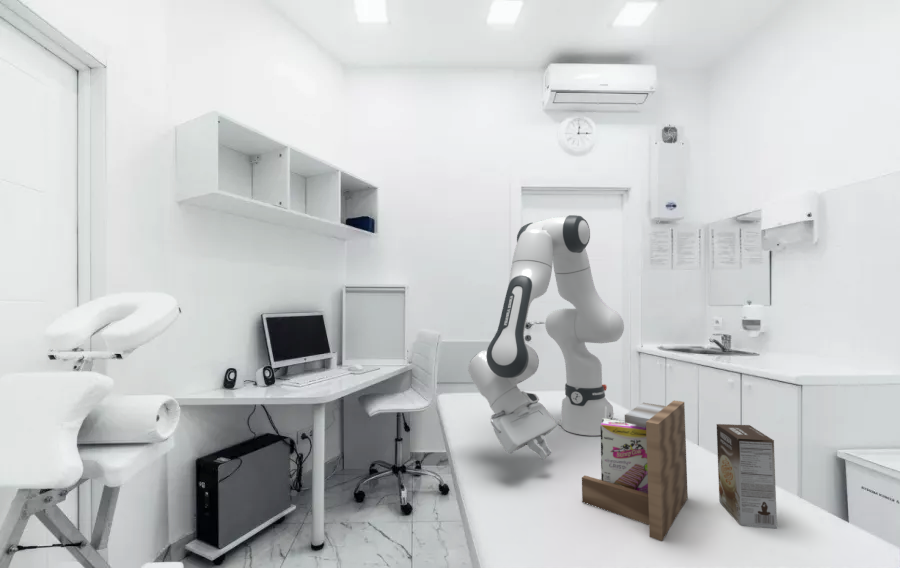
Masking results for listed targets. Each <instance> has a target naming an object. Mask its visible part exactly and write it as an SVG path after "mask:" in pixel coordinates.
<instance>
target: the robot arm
mask: <svg viewBox="0 0 900 568" xmlns="http://www.w3.org/2000/svg"><path fill="white" fill-rule="evenodd" d="M516 235H517V236H516V245H515V249H514V252H513V255H512V261H511V267H510V274H509V280H508V281H509V282H508V285H507V290H506V294H505V297H504V301H503V305H502V309H501V314H500V315H501V316H500V320H499V324H498V327H497V330H496V332H495V334H494V337H493V338H492V340H491V342H490V343H489V345H488V347H487V350H485V349H483V350H481V351H479V352H478V353H476V354H475V355H474V356H473V357H472V358H471V360H470V361H469V364H468V367H467V371H468V374H469V377H470V379H471V381H472V383H473V384H474V385H475V388H476V389H477V391H478V392H479V393H480V395H481V396H483V398H485V399H486V400H487V403H488V404H489V407H490V409H491V410H492V412H493V414H492V415H491V416H490V423H491V426H492V427H493V432H494V433H495V435H496V438H497V439H498V441H499V443H500V444H501V446H502V448H503V449H504V451H505V452H507V453H509V454H512V453H514V452H516V451H517V450H520V449H522V448H523V447H526V446H527V447H528V448H529V449H530V450H531V451H532V452H534V453H535V454H537V455H538V457H539V458H540V459H541V460H544V459H546V458H548V457H550V456H551V455H552V453H553V451H552V449H551V448H550V447H549V445H548V441H547V438H546V435H549V434H550V433H551V432H552V431H554V430H555V428H557V425H560V426H561V428H562V429H563V430H565V431H567V432H568V433H571V434H575V435H581V436H590V437H591V436H601V422H602V418H603V419H613V420H620V419H619V418H615V417H614V407H613V405H612V404H611V403H610V401H608V399H607V398H606V391H607V388H608V385H607V384H605V383H603V373H602V371H603V370H602V369H603V367H602V362H601V361H600V359H599V357H598V356H596V355H595V354H593V353H591V352H590V351H589V350H588V348H587V347H586V343H589V344H591V343H592V344H607V343H615V342H618V341H619V340H620V338H621V337H622V336H623V334H624V331H625V330H624V329H625V324H624V319H623V318H622V316H621V314H620V313H618V312H617V311H616V310H614V309H613V308H611V307H610V306H609V305H607V303H605V302H604V301H603V299H602V297H601V296H600V295H599V293H598V291H597V289H596V287H595V284H594V280H593V276H592V275H593V274H592V270H591V264H590V260H589V255H588V252H587V250H586V247H587V246H588V245H589V243H590V239H591V229H590V226H589V223H588V221H587V220H586V219H585V218H584V217H583V216H581V215H577V214H576V215H575V214H574V215H567V216H557V217H549V218H547V219H543V220H540V221H535V222H530V223H527V224H525V225H524V224H523V226H521V227H520V229H519V230H518V233H517V234H516ZM552 270H553V271H554V276H555V277H554V278H555V282H556V286H557V292H558V294H559V296H560V297H561V298H562V299H563V300H565V301H567V302H568V303H570V304H571V305H573V307H574V308H561V309H555V310H552V311H550V312H549V313H548V315H547V316H546V318H545V322H544V323H545V326H544V327H545V330H546V333H547V334H548V336H549V337H550V338H551V339H552V340H554V341H555V342H556V344H557V346H558V347H559V349H560V350H561V353H562V356H563V358H564V363H565V375H566V377H565V380H566V383H565V385H564V392H565V393H564V394H565V397H563V399H562V401H561V414H560V416H561V417H560V419H558V420H557V423H556V420H555V419H554V418H553V415H552V414H551V413H550V412H549V411H548V409H547V408H546V406H545V405H544V404H542V403H541V402H539V401H540V397H539V396H538V395H537V394H536V393H532V392H526V391H524V390H521V389H520V388H519V387H518V384H521V383H522V382H524V381H526V380H527V379H530V378H531V377H532V376H533V375H535V374H536V372H537V371H538V368H539V361H540V360H539V356H538V353H537V352H536V350H535V349H533V347H531V346H530V345H528V344H527V343H526V341H525V329H526V327H527V326H526V325H527V320H528V315H529V309H530V306H531V304H532V302H533V301H534V300H535V299H538V298H540V297H542V296H544V295H545V294H546V292H547V291H548V288H549V285H550V282H551V279H552V278H551V276H552V272H553V271H552Z"/></svg>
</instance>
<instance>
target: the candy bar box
mask: <svg viewBox="0 0 900 568" xmlns="http://www.w3.org/2000/svg"><path fill="white" fill-rule="evenodd" d="M600 464H601V465H600V469H601V472H600V473H601V474H600V475H601V478H600V480H603V481H606V482H610V483H613V484H617V485H620V486H623V487H627V488H630V489H634V490H637V491H641V492H644V493H647V494H648V471H647V439H646V426H641V425H635V424H630V423H625V420H621V419H619V420H613V419H603V418H602V422H601V435H600Z"/></svg>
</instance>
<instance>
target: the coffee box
mask: <svg viewBox="0 0 900 568" xmlns="http://www.w3.org/2000/svg"><path fill="white" fill-rule="evenodd" d="M716 441H717V442H716V447H717V475H718V500H719V503H720V504H721V505H722V506H723V508H725V510H726V511H727V512H728V513H729V514H730V515H731V517H732V518H734V520H735V521H736V522H737V523H738V524H739V526H742V527H743V526H744V527H753V528H754V527H755V528H756V527H757V528H764V529H765V528H767V529H777V528H778V519H777V518H778V517H777V494H776V493H777V492H776V491H777V490H776V463H775V459H776V458H775V440H774V439H773V438H771V437H769V436H767V435H766V434H764V433H763V432H761V431H760V430H758V429H756V427H753V426H751V424H750V425H749V424H727V423H726V424H725V423H724V424H723V423H722V424H721V423H716Z"/></svg>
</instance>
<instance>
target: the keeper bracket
mask: <svg viewBox="0 0 900 568" xmlns="http://www.w3.org/2000/svg"><path fill="white" fill-rule="evenodd" d="M685 415H686V412H685V401H681V400H672V401H671V402H670V403H669V404H667V405H661V404H653V403H648V402H642V403H641V404H639V405H637V406H636V407H634V408H632V409H631V410H630V411H628V412H626V413H625V414H624V421H625V423H630V424H635V425H641V426H646V439H647V471H648V494H647V493H644V492H641V491H637V490H634V489H630V488H627V487H623V486H620V485H617V484H613V483H610V482H606V481H603V480H601V479H600V478H599V479H598V478H595V477H593V476H589V475H583V476H582V477H581V501H582V503H583V502H585V503H584V504H586V503H588V504H587V505H589V504H590V505H589V506H592V505H593V506H592V507H595V506H596V507H595V508H598V507H599V508H598V509H601V508H602V510H604V509H605V510H604V511H607V510H608V511H607V512H610V511H611V512H610V513H613V514H615V513H616V515H618V514H619V515H618V516H621V515H622V517H625V518H628V519H630V520H634V521H636V522H639V523H643V524H645V525H648V527H649V529H648V531H649V532H648V533H649V535H648V536H649V538H652V539H654V540H658V541H660V542H663V541H664V539H665V537H666V536H667V534H668V532H669V530H670V529H671V527H672V526H673V524H674V522H675V520H676V518H677V517H678V515H679V514H680V513H681V510H682V509H683V507H684V506H685V504H686V502H687V500H688V498H689V495H688V494H689V493H688V470H687V466H688V465H687V443H686V438H687V437H686V416H685Z"/></svg>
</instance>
